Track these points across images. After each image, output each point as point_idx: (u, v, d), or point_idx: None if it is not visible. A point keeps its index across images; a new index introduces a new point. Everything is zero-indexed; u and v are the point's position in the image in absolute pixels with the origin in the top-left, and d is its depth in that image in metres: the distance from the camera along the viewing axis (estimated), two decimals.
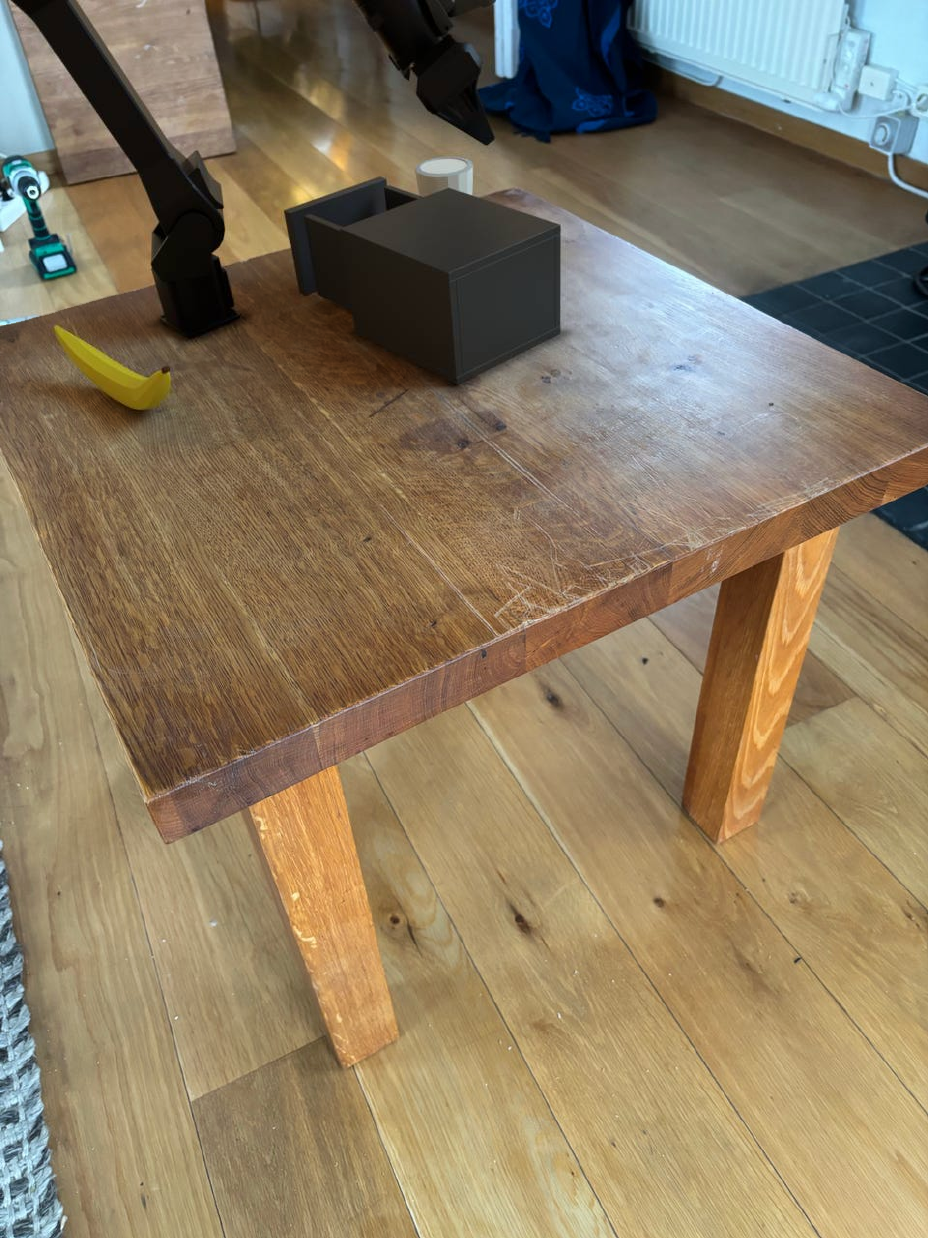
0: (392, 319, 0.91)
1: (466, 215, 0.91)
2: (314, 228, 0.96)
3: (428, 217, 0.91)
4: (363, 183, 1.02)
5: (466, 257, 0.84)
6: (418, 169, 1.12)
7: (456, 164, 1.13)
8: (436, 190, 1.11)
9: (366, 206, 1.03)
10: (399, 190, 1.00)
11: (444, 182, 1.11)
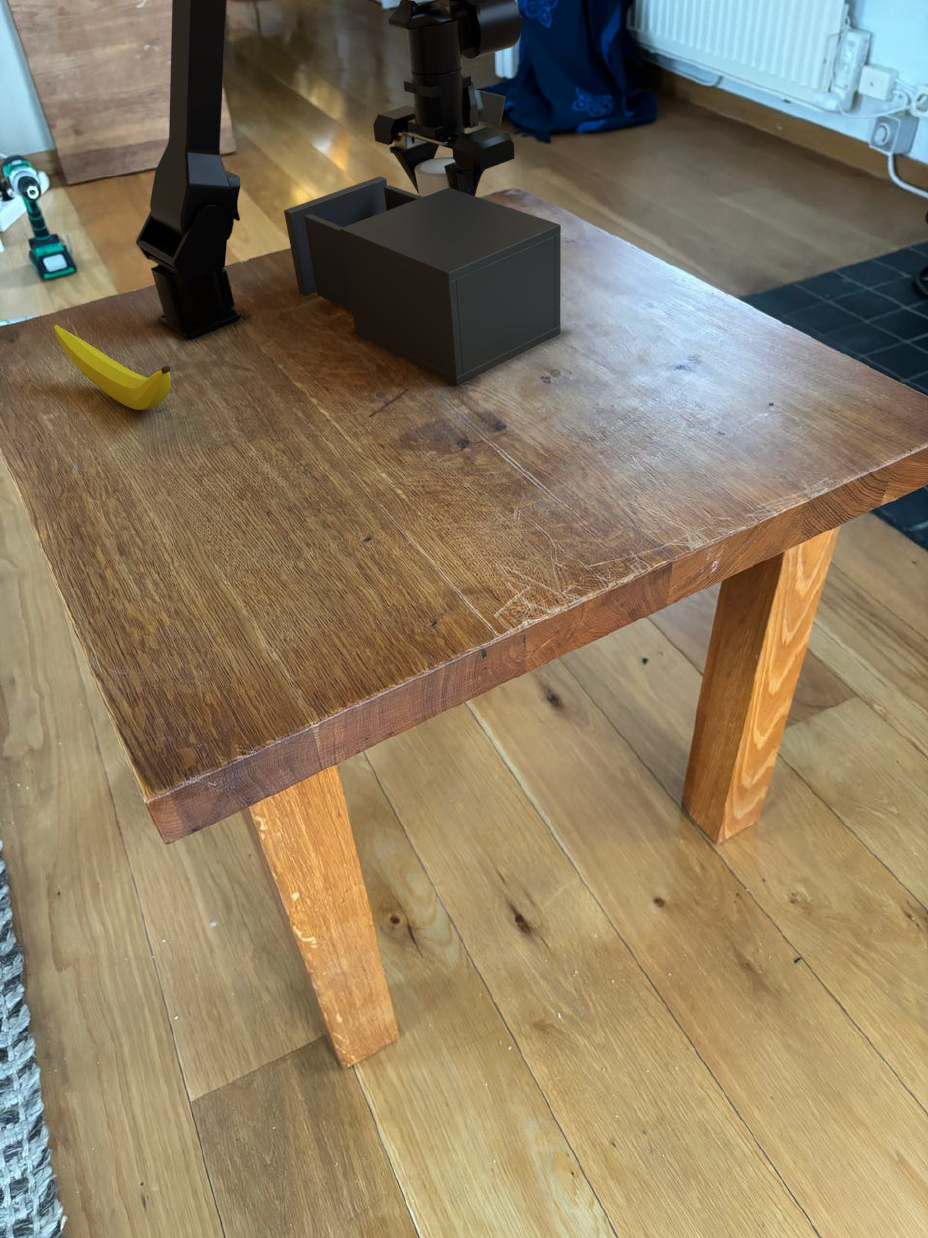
0: (392, 319, 0.91)
1: (466, 215, 0.91)
2: (314, 228, 0.96)
3: (428, 217, 0.91)
4: (363, 183, 1.02)
5: (466, 257, 0.84)
6: (418, 169, 1.12)
7: None
8: (436, 190, 1.11)
9: (366, 206, 1.03)
10: (399, 190, 1.00)
11: (444, 182, 1.11)
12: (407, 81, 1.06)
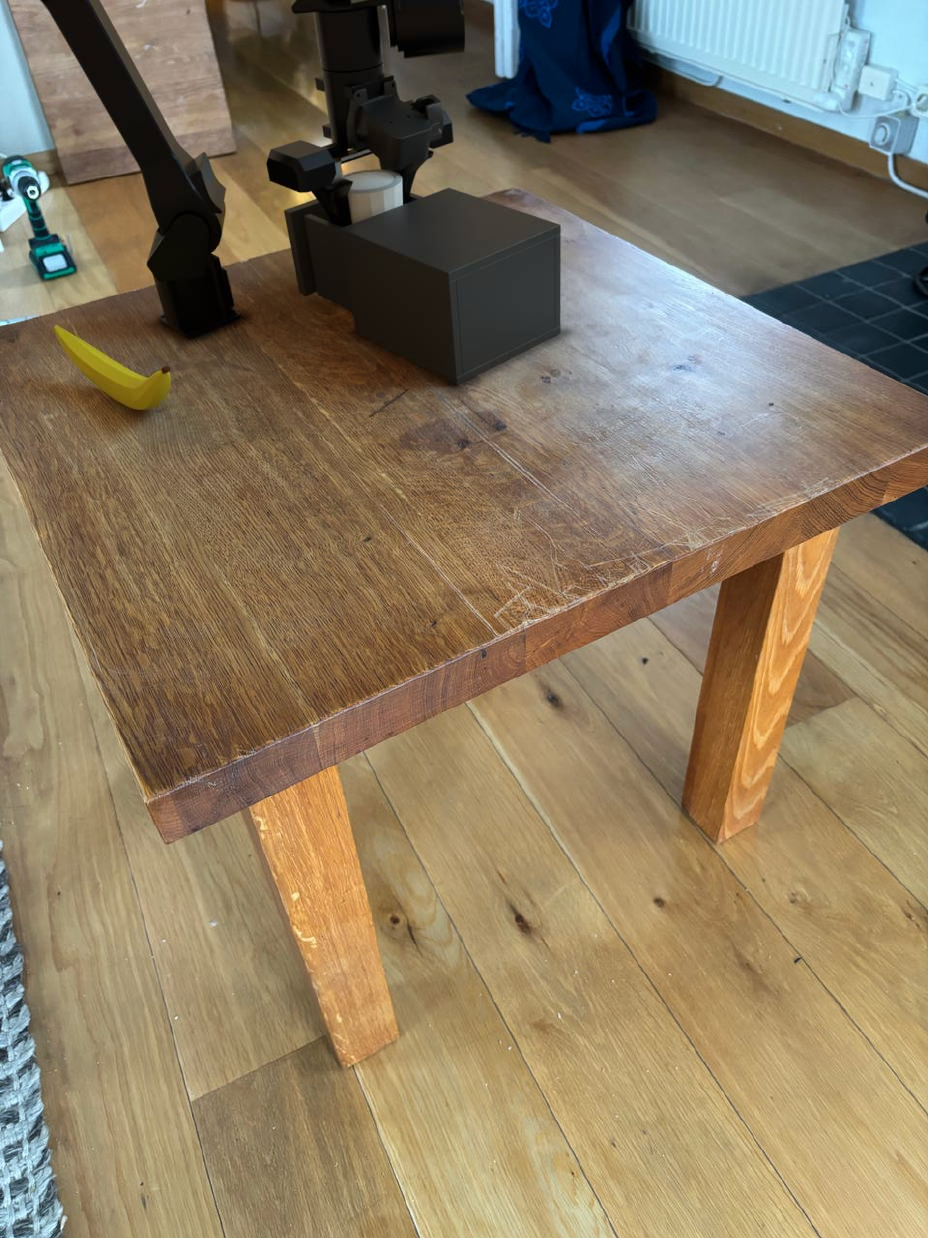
0: (392, 319, 0.91)
1: (466, 215, 0.91)
2: (314, 228, 0.96)
3: (428, 217, 0.91)
4: None
5: (466, 257, 0.84)
6: (363, 170, 0.97)
7: (371, 186, 0.94)
8: None
9: None
10: None
11: None
12: None
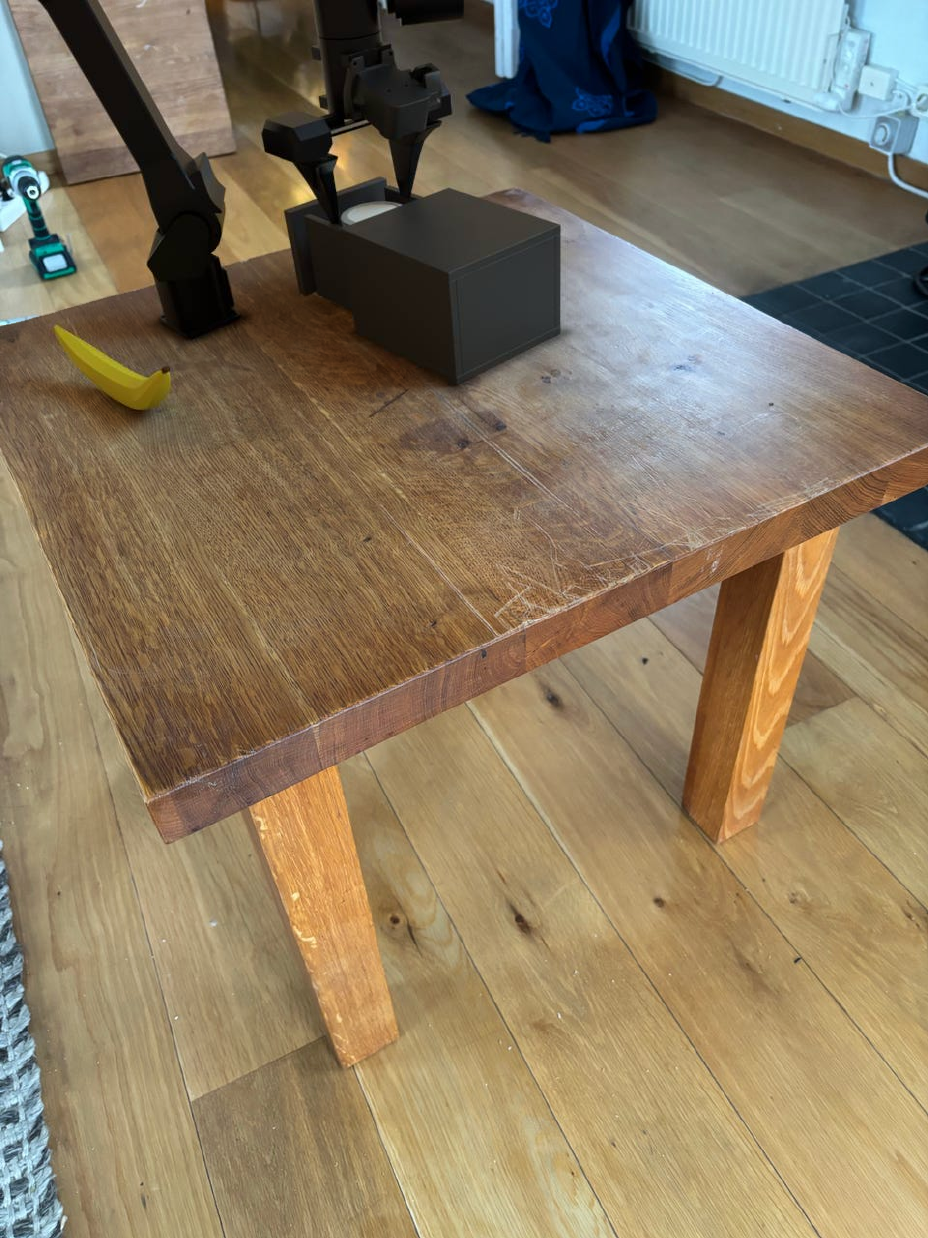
0: (392, 319, 0.91)
1: (466, 215, 0.91)
2: (314, 228, 0.96)
3: (428, 217, 0.91)
4: (363, 183, 1.02)
5: (466, 257, 0.84)
6: (370, 202, 1.00)
7: None
8: None
9: None
10: None
11: None
12: None
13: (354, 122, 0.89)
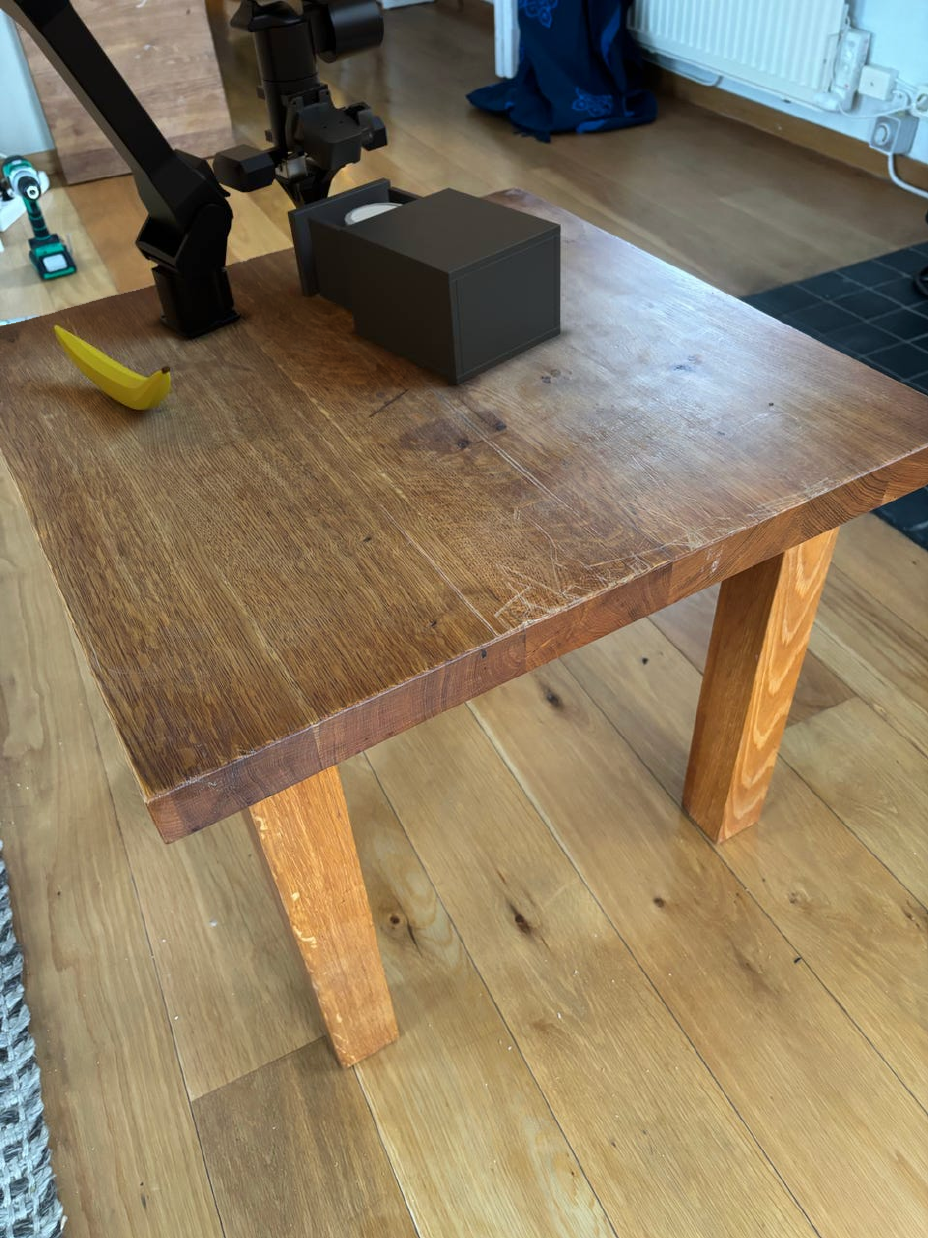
0: (392, 319, 0.91)
1: (466, 215, 0.91)
2: (318, 230, 0.96)
3: (428, 217, 0.91)
4: (367, 185, 1.01)
5: (466, 257, 0.84)
6: (374, 204, 0.99)
7: None
8: None
9: None
10: (403, 191, 1.00)
11: None
12: None
13: None
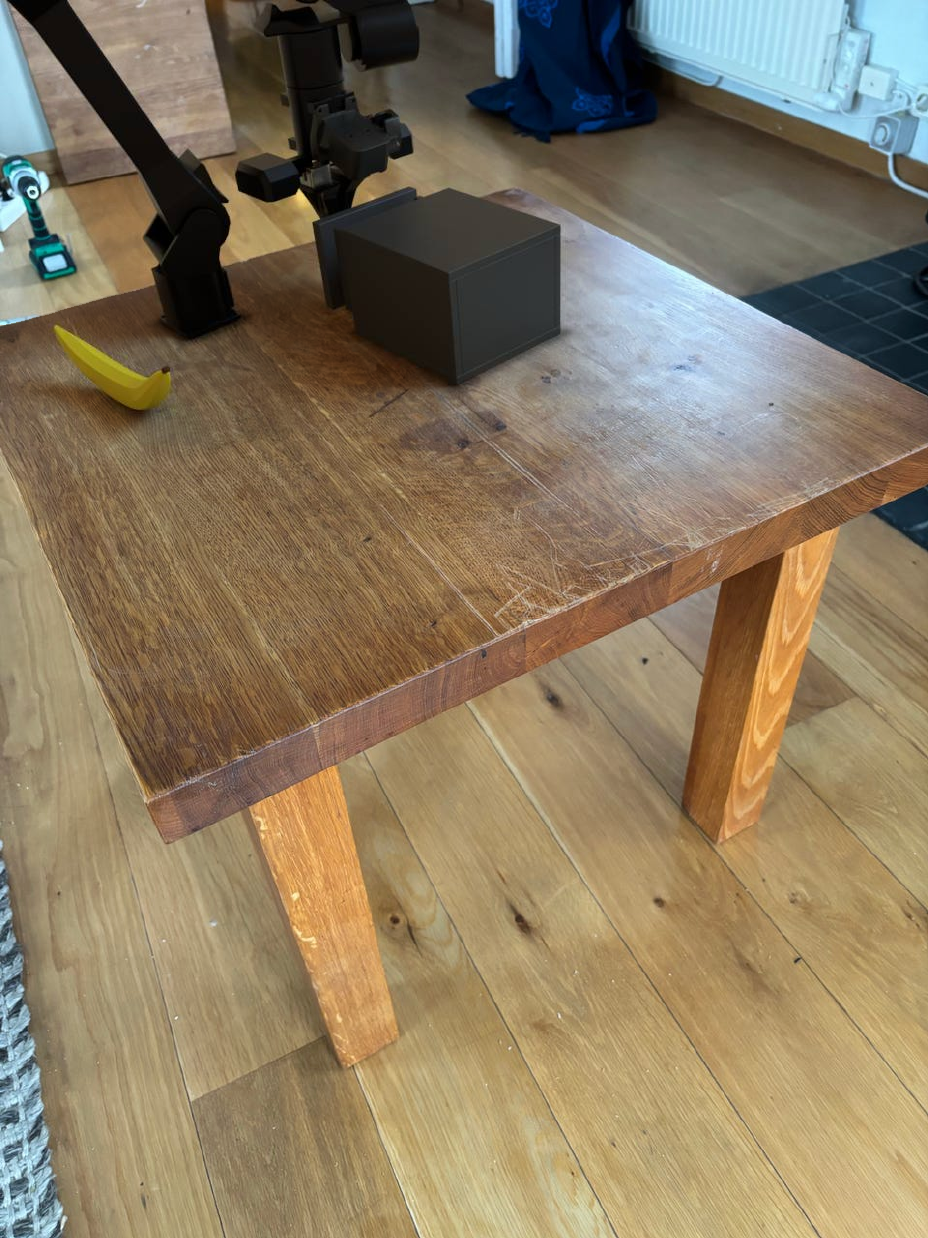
0: (392, 319, 0.91)
1: (466, 215, 0.91)
2: None
3: (428, 217, 0.91)
4: (393, 194, 0.99)
5: (466, 257, 0.84)
6: None
7: None
8: None
9: None
10: None
11: None
12: None
13: None
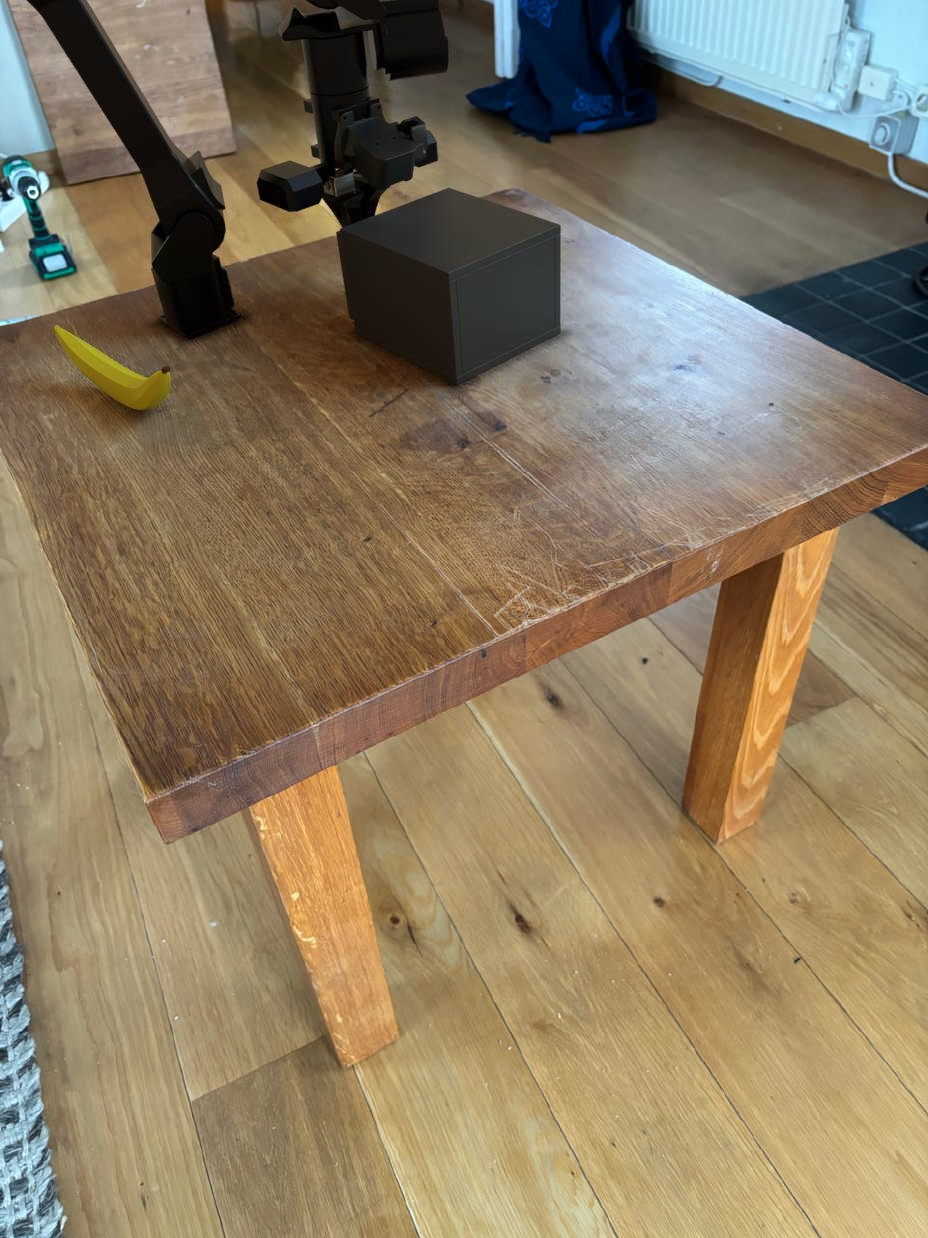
0: (392, 319, 0.91)
1: (466, 215, 0.91)
2: None
3: (428, 217, 0.91)
4: None
5: (466, 257, 0.84)
6: None
7: None
8: None
9: None
10: None
11: None
12: None
13: None
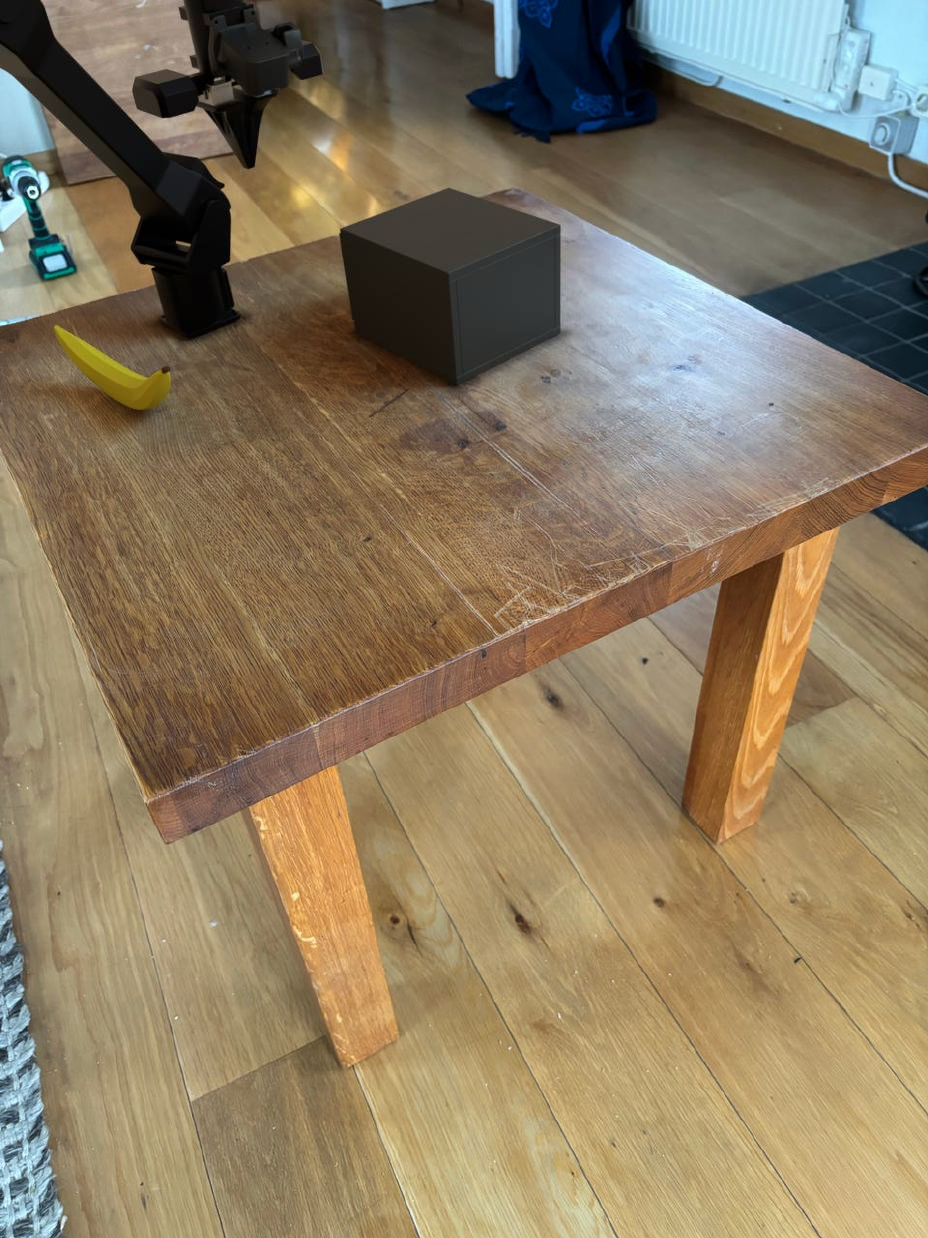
0: (392, 319, 0.91)
1: (466, 215, 0.91)
2: None
3: (428, 217, 0.91)
4: None
5: (466, 257, 0.84)
6: None
7: None
8: None
9: None
10: None
11: None
12: None
13: None
